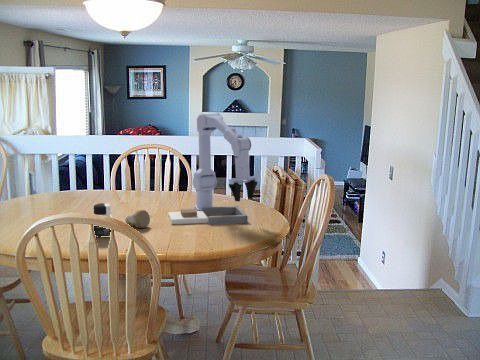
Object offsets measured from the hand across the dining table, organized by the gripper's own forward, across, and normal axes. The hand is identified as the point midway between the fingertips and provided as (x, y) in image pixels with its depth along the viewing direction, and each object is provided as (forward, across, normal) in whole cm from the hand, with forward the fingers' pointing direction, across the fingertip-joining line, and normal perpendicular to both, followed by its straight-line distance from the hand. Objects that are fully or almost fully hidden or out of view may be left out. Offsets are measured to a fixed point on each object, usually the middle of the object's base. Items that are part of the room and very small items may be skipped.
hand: (244, 200), depth 210 cm
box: (+9, 0, +13) cm, 16 cm away
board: (+8, -13, +21) cm, 26 cm away
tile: (+6, -13, +21) cm, 25 cm away
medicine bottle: (+8, -51, +25) cm, 58 cm away
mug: (+8, -35, +27) cm, 45 cm away
